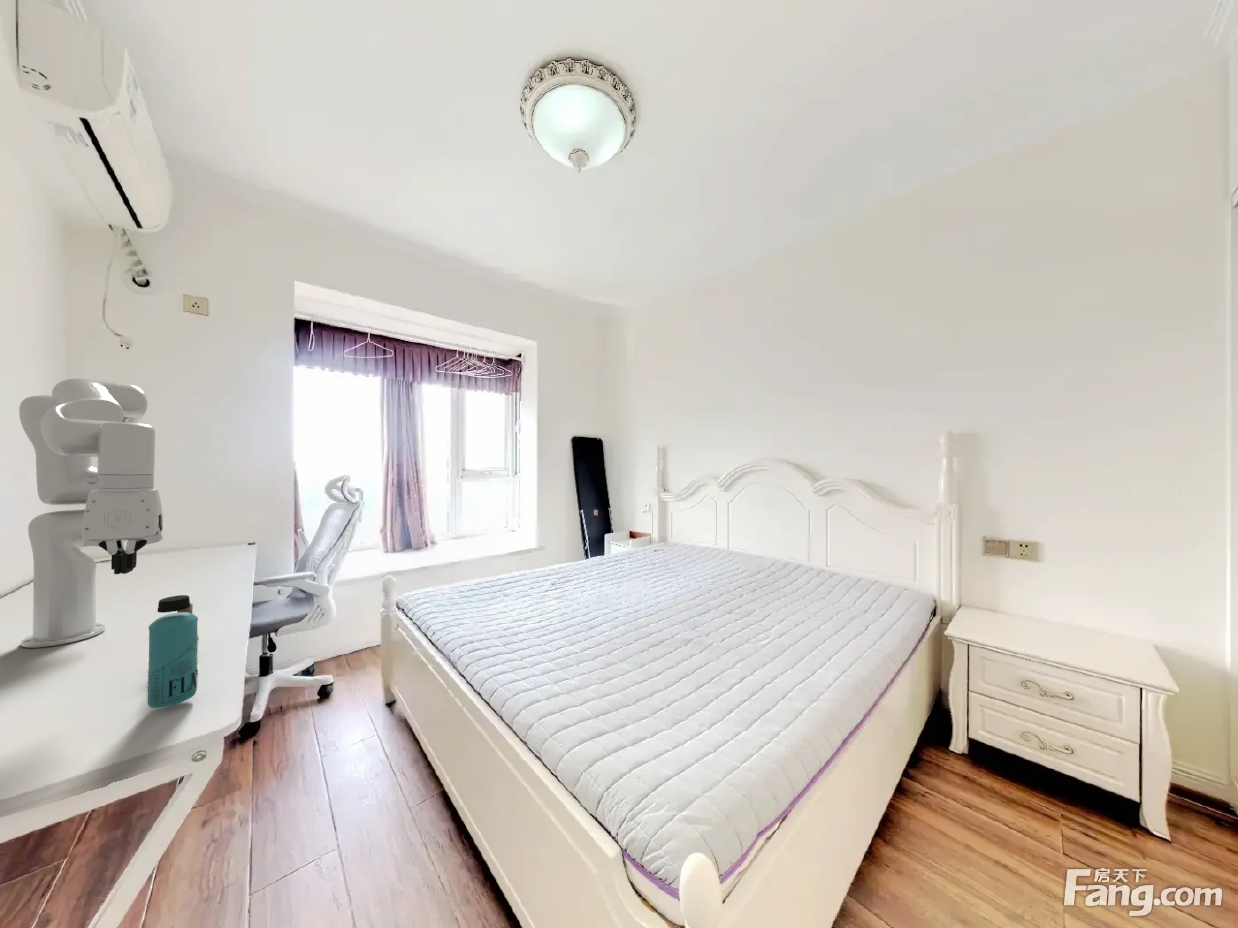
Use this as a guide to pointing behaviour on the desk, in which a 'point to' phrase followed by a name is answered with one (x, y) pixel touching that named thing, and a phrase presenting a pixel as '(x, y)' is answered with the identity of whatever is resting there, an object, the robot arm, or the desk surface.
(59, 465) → the robot arm
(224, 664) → the desk surface
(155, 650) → the beverage bottle
